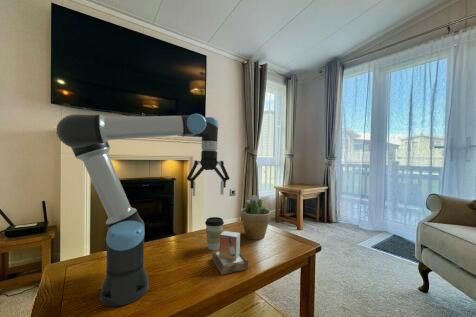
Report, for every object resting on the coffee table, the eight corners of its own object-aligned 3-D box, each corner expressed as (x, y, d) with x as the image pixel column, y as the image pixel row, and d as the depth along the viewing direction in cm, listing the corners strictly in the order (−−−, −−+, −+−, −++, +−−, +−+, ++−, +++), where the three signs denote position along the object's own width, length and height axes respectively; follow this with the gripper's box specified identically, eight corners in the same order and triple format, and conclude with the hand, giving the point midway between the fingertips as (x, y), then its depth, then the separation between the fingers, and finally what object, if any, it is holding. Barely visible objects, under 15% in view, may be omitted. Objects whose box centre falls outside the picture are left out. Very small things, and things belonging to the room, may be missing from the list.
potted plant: (237, 231, 134) (238, 192, 134) (265, 229, 138) (265, 192, 137) (243, 243, 116) (244, 198, 116) (275, 241, 120) (275, 198, 119)
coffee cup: (220, 253, 104) (220, 223, 104) (201, 250, 106) (202, 221, 106) (225, 244, 114) (225, 217, 113) (208, 243, 116) (208, 216, 115)
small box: (219, 258, 92) (219, 234, 92) (223, 252, 98) (223, 230, 98) (236, 261, 90) (236, 236, 90) (239, 255, 95) (240, 232, 95)
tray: (221, 274, 85) (221, 265, 85) (212, 258, 98) (212, 250, 98) (247, 269, 90) (248, 260, 90) (235, 254, 103) (236, 246, 103)
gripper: (183, 149, 91) (182, 197, 91) (236, 151, 100) (235, 195, 100) (181, 149, 98) (180, 194, 98) (231, 151, 107) (230, 192, 107)
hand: (208, 195), depth 99 cm, fingers open, 13 cm apart
